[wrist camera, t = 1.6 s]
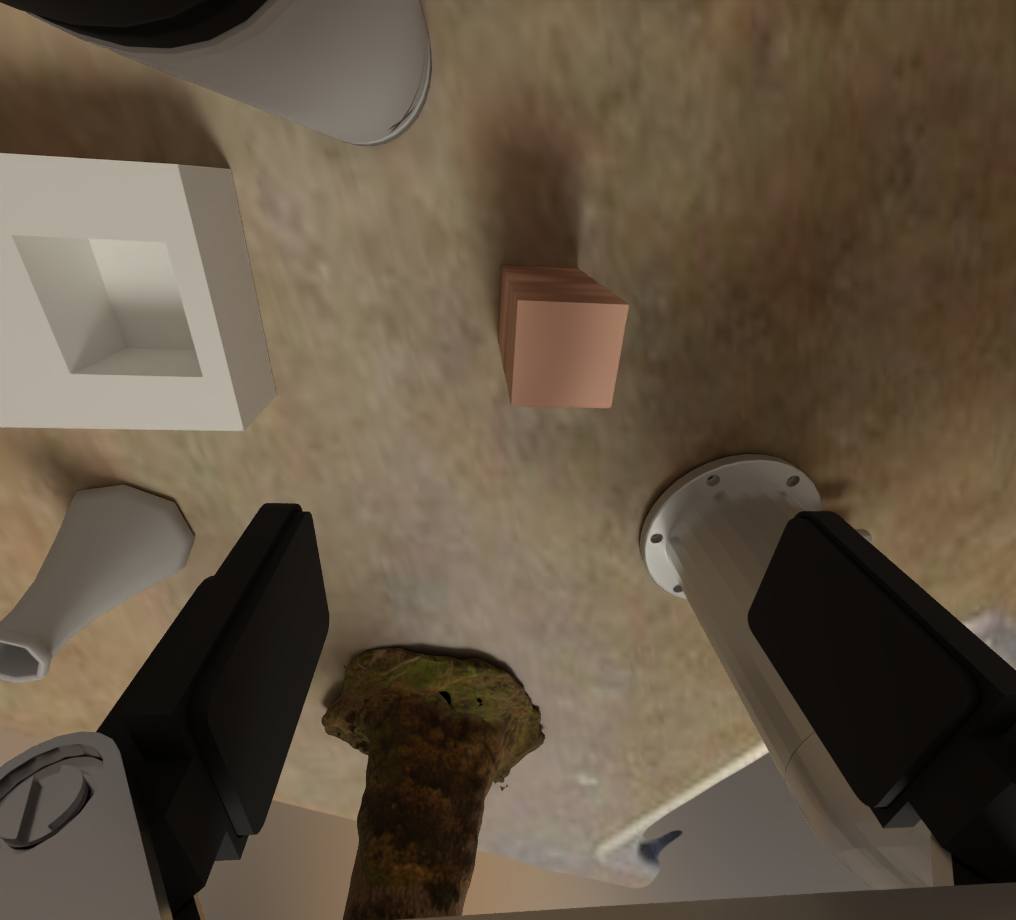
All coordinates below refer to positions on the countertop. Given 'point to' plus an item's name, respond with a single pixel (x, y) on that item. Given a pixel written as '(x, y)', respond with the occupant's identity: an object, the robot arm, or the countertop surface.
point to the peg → (559, 337)
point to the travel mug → (274, 54)
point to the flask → (92, 572)
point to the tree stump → (425, 773)
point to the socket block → (126, 298)
